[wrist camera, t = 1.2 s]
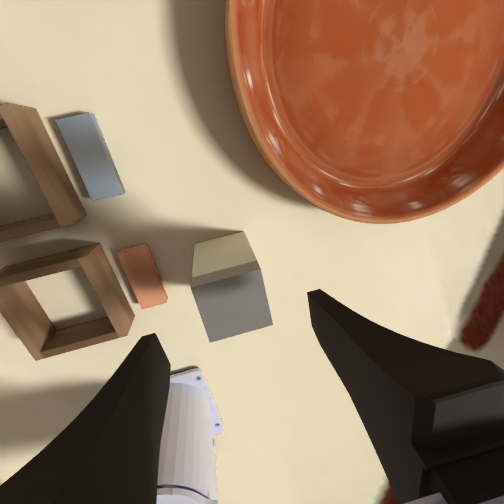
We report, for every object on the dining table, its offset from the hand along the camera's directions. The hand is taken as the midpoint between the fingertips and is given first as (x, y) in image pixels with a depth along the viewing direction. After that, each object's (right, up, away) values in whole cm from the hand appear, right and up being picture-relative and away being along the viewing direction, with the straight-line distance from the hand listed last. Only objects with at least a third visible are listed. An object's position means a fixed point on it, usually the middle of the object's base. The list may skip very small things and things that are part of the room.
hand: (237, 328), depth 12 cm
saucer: (+10, +18, +6) cm, 21 cm away
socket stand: (-13, +5, +7) cm, 15 cm away
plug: (-1, +3, +10) cm, 10 cm away
